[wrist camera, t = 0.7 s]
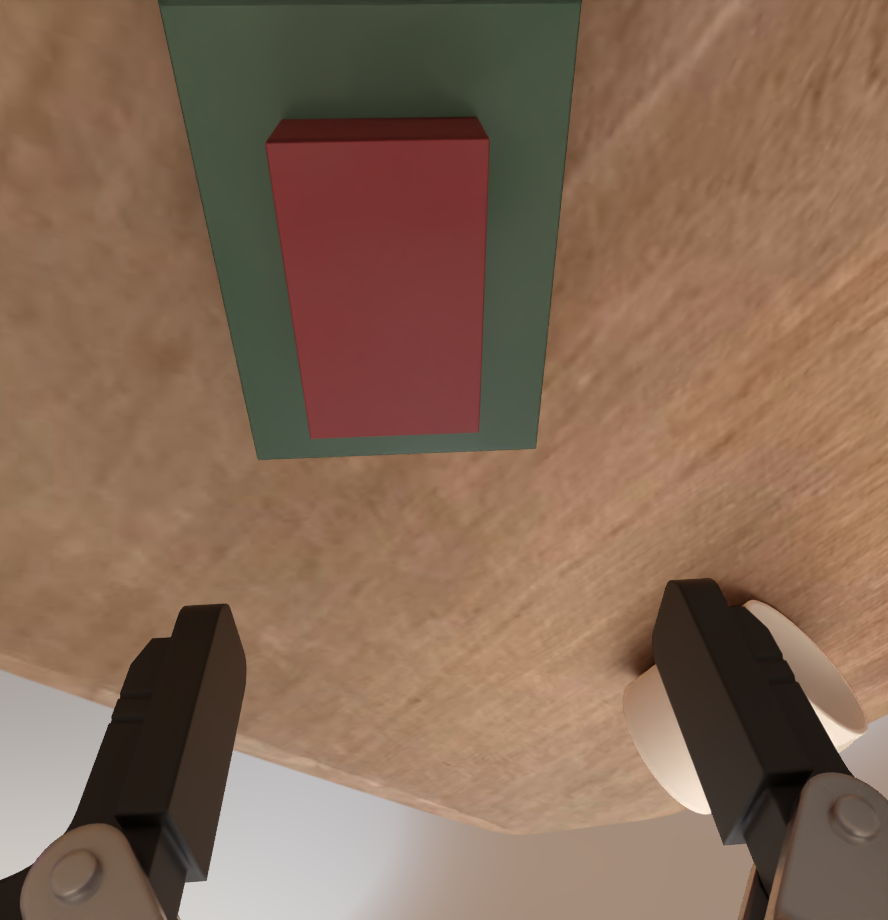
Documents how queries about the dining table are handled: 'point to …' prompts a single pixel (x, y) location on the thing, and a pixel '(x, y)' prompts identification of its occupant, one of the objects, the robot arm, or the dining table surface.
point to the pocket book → (384, 269)
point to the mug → (662, 733)
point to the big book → (379, 96)
